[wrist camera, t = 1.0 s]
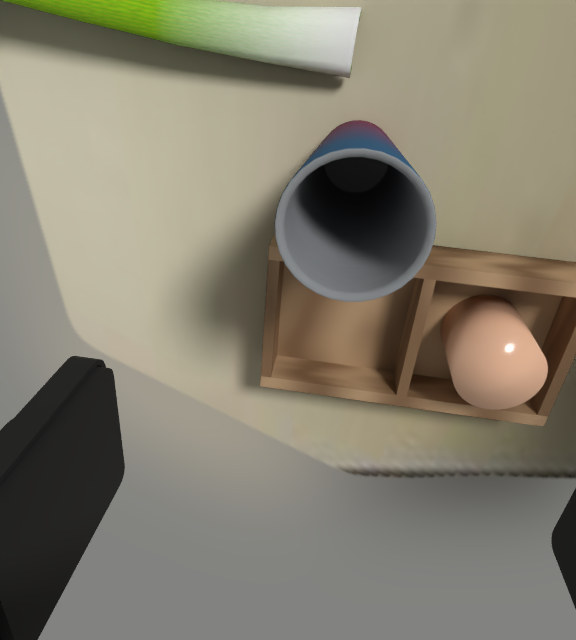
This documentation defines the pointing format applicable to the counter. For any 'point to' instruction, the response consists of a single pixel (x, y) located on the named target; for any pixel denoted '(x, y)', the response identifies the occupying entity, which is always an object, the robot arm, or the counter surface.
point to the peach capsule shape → (492, 353)
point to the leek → (228, 28)
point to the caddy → (414, 332)
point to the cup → (355, 217)
